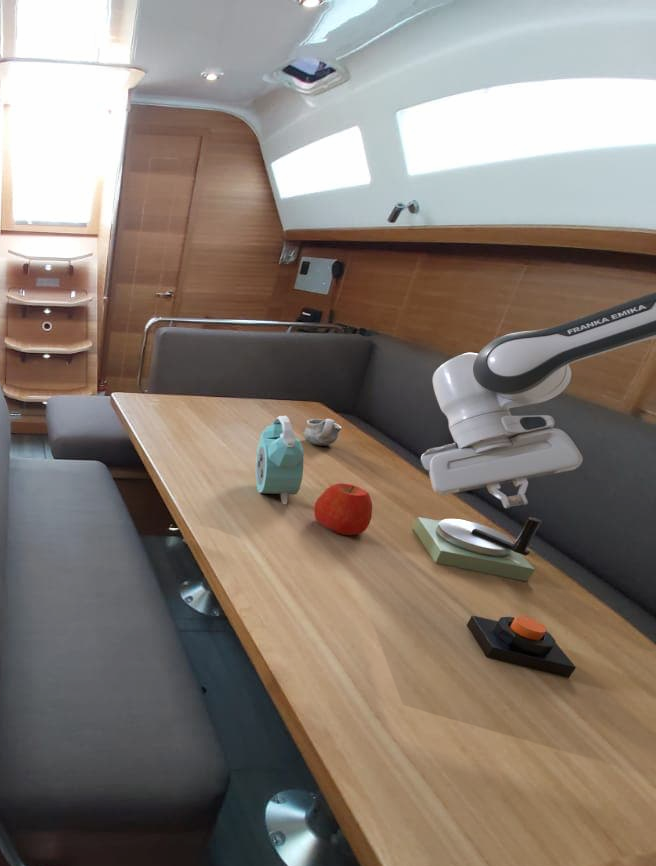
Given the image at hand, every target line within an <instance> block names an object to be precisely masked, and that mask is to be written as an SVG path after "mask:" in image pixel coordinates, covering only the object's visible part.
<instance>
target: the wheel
mask: <svg viewBox="0 0 656 866" xmlns="http://www.w3.org/2000/svg"><path fill="white" fill-rule="evenodd" d="M439 521H440V522H439V524H438V527H437V532H438V534H439V535H440V536H441V537H443V538H444V539H445V540H447V541H449V542H451V543H452V544H455V545H457V546H459V547H461V548H464V549H467V550H470V551H473V552H477V553H481V554H486V555H492V556H504V555H508V554H509V553H510V552H511V550H512V551H514V552H516V553H520V554H521V555H522V556H528V555H530V553H531V551H530V550H528V549H527V548H528V546H529V545H530V542H531V541H532V539H533V538H534V536H535V534H536V532H537V530H538V529H539V527H540V525H541V524H542V522H543V521H542V520H541V519H539V518H537V517H534V516H530V517H528V518H527V519H526V522H525V524H524V525H523V527H522V529H521V530H520V533H519V534H518V536H517V538H516V540H514V541H515V542H513V540H512V539H511V538H509V537H508V536H507V535H506V534H504V533H502V532H500V531H499V530H496V529H494V528H491V527H490V526H486V525H484V524H481V523H478V522H473V521H470V520H465V519H459V518H445V519H442V520H439Z"/></svg>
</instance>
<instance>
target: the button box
mask: <svg viewBox="0 0 656 866" xmlns="http://www.w3.org/2000/svg"><path fill="white" fill-rule="evenodd" d="M514 619H515V617H513V616H501V617H499V619H498V620H494V619H490V618H485V617H483V616H482V617H481V616H477V615H471V616H470V618H469V620H468V622H467V623H466V627H467V628H468V630H469V631H470V633H471V635H472V636H473V639H474V640H475V642H476V643H477V645H478V646H479V648H480V649H481V651H482V653H483V654H484V656H485V657H486V658H487V659H491V660H495V661H499V662H502V663H507V664H510V665H514V666H519V667H523V668H527V669H531V670H535V671H538V672H543V673H547V674H551V675H554V676H560V677H562V678H566V679H568V678H569V679H570V677H571V676H572V674H573V673H574V671H575V670H576V668H577V667H576V665H575V664H574V663H573V661H571V659H570V658H569V657H568V655H566V653H565V652H564V651H563V650H562V648H561V647H560V646H559V645H558V643H557V641H556V639H555V638H554V637H553V635H552V634H551V633H550V632H548V631H547V630H546V632H545V634H544V635H543V637H542V638H541V640H539V641H537V640H532V639H528V638H526V637H524V636H521V635H519V634H517V633H516V632H515V631H513V630H512V629H511V628H510V626H511V624H512V622H513V621H514Z"/></svg>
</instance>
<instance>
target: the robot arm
mask: <svg viewBox="0 0 656 866" xmlns="http://www.w3.org/2000/svg"><path fill="white" fill-rule="evenodd" d="M651 340H656V291H655V292H652V293H649V294H646V295H642V296H640V297H637V298H634V299H631V300H628V301H625V302H622V303H619V304H616V305H613V306H611V307H607V308H605V309H602V310H599V311H597V312H594V313H591V314H588V315H585V316H582V317H579V318H576V319H573V320H570V321H567V322H565V323H562V324H559V325H555V326H552V327H548V328H542V329H535V330H525V331H517V332H512V333H508V334H504V335H502V336H499V337H497V338H495V339H493V340H492V341H491V342H489V343H487V344H486V345H485V346H484V347H483V348H482V349H481V350H480V351H479V353H475V352H466V353H462V354H459V355H455V356H453V357H452V358H449V359H448V360H446V361H445V362H443V363H442V364H441V365H440V366H438V367H437V369H436V370H435V371H434V372H433V375H432V388H433V391H434V395H435V398H436V400H437V403H438V406H439V408H440V411H441V412H442V414H444V415H445V416H446V418H447V422H448V430H449V432H450V434H451V437H452V440H453V442H452V443H448V444H444V445H442V446H438V447H431V448H428V449H427V450H426V451H424V452H423V454H421V456H420V463H421V465H422V467H423V469H424V470H425V471H427V472H428V474H429V480H430V484H431V487H432V491H433V492H434V493H435V494H437V495H439V496H445V495H449V494H455V493H461V492H467V491H471V490H476V489H482V488H486V489H487V491H488V493H489V494H490V495H492V496H494V497H495V498H497V499H498V500H500V501H501V504H502V506H503V508H504V509H508V508H514V507H521V506H526V505H528V504H529V501H528V498H527V497H526V495H525V494H526V492H527V490H528V486H529V481H528V479H529V480H530V479H533V478H538V477H539V478H540V477H543V476H550V475H554V474H558V473H559V474H560V473H565V472H569V471H574V470H576V469H577V468H579V467H580V466H581V465H582V462H583V455H582V454H581V452H580V450H579V448H578V447H577V445H576V444H575V443H574V441H573V440H572V438H570V437H571V436H569V435H568V434H567V432H565V431H563V430H562V429H559V428H556V427H554V426H555V424H556V423H555V419H554V418H553V416H551V415H548V414H547V415H546V414H541V415H540V414H539V415H537V414H536V415H535V414H533V415H512V414H511V412H510V409H516V408H522V407H523V408H524V407H527V406H533V405H536V404H541V403H545V402H548V401H550V400H552V399H555V398H557V397H558V396H560V395H561V394H563V392H565V391H566V390H567V388H568V387H569V386H570V385H571V381H572V379H573V370H572V367H571V364H573V363H576V362H579V361H582V360H585V359H589V358H592V357H595V356H599V355H603V354H605V353H608V352H612V351H615V350H618V349H622V348H625V347H627V346H632V345H635V344H638V343H641V342H645V341H651ZM507 483H508V484H509V483H513V485H514V487H515V488H518V487H519V488H518V491H517V494H515V495H510V496H507V495H506V494H505V493H504V492H502V491H500V490H501V488H502V487H501V485H502V484H507Z"/></svg>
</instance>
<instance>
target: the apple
mask: <svg viewBox="0 0 656 866" xmlns="http://www.w3.org/2000/svg"><path fill="white" fill-rule="evenodd" d="M313 510H314V511H313V513H314V518H315V520H316V522H317V523H318V524H320V525H321V526H323V527H324V528H326V529H327V530H330V531H332V532H333V533H337V534H340V535H344V536H355V535H360V534H363V533H364V532H365V531H366V530H367V529H368V527H369V526H370V523H371V520H372V517H373V516H372V514H373V501H372V498H371V496H370V494H369V492H368V491H366V490H365V489H363V488H361V487H359V486H358V485H354V484H350V483H341V482H340V483H335V484H331V485H330V486H329V487H327V488H326V489H325V490H324V491H323V492H322V493H321V494H320V495H319V496H318V498H317V499H316V501H315V503H314V507H313Z"/></svg>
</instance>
